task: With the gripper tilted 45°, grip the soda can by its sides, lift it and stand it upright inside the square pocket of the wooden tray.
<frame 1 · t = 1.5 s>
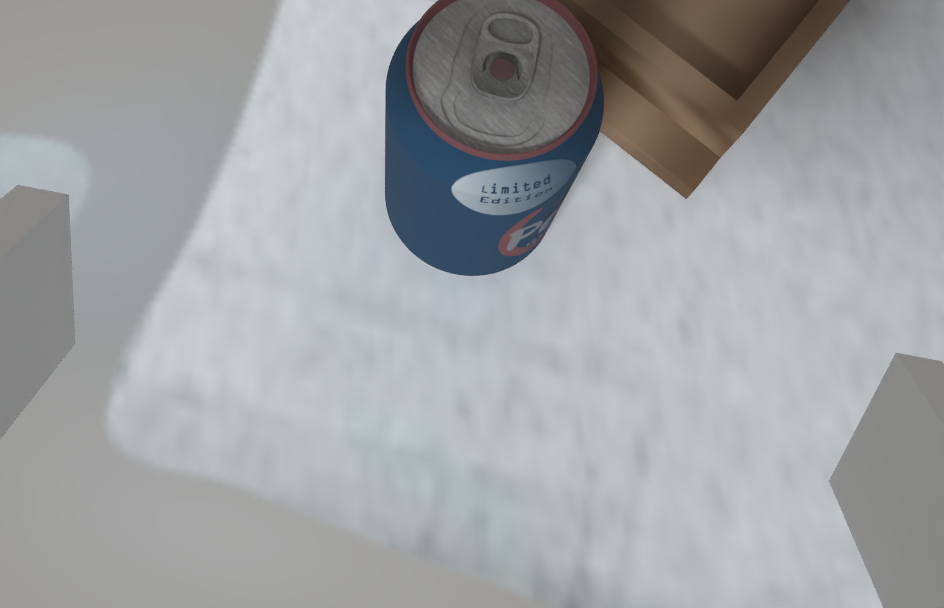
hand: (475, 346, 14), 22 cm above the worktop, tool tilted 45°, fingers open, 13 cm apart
soda can: (467, 206, 38), on the worktop
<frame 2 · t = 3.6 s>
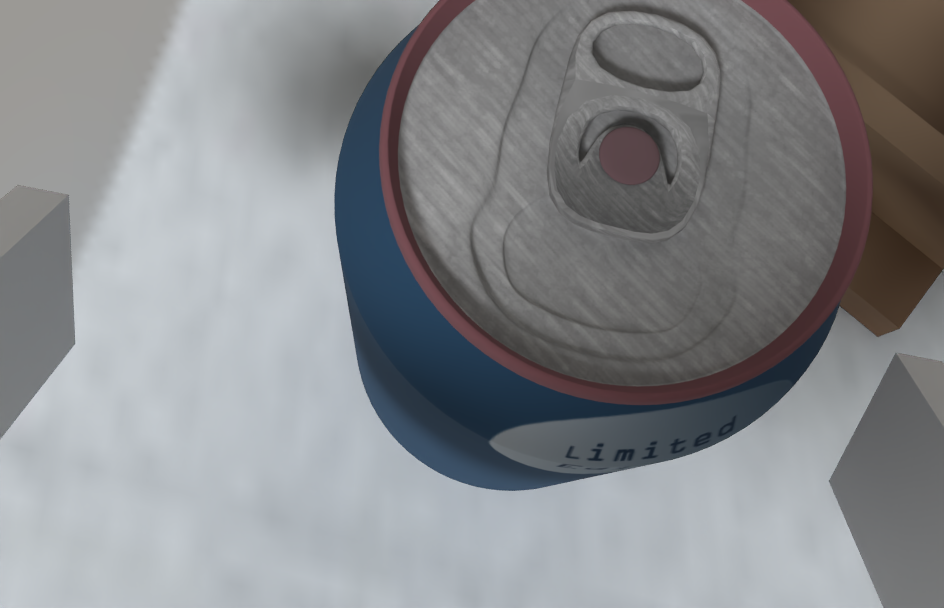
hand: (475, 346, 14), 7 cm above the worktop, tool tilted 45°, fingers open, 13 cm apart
soda can: (500, 347, 22), on the worktop
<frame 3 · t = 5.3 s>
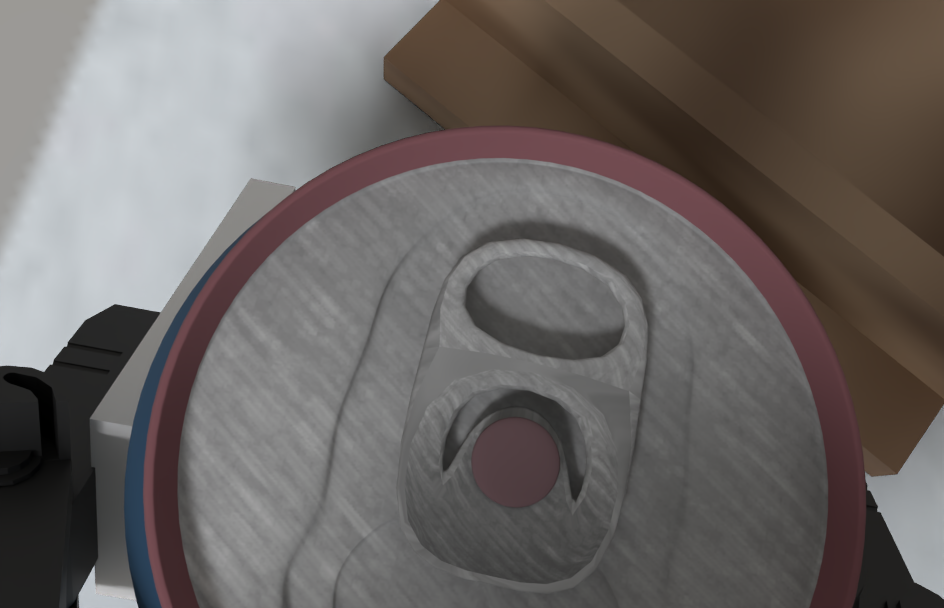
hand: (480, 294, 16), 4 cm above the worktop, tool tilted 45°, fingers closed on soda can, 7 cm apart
soda can: (432, 501, 19), on the worktop, touching gripper
wooden tray: (836, 9, 22), on the worktop
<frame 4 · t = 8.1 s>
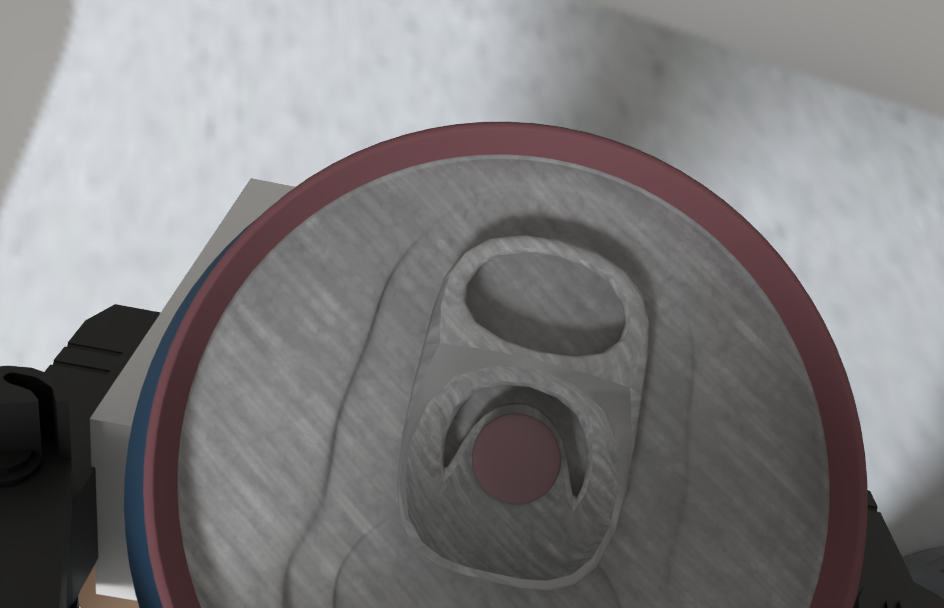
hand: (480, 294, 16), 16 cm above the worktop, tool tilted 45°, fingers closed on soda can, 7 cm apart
soda can: (433, 500, 19), point 12 cm above the worktop, touching gripper
wooden tray: (411, 505, 31), on the worktop
when the fingers open (6 cm above the worktop, at t = 10.7 s): soda can drops 1 cm, resting on wooden tray.
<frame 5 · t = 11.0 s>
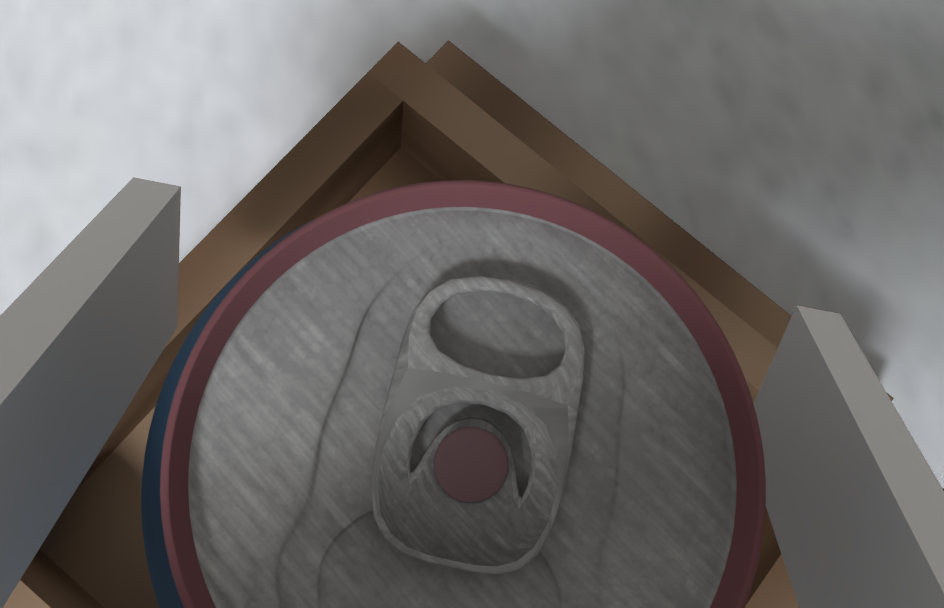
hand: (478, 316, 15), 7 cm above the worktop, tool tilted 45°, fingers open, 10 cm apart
soda can: (420, 504, 20), point 1 cm above the worktop, touching wooden tray
wooden tray: (427, 503, 21), on the worktop
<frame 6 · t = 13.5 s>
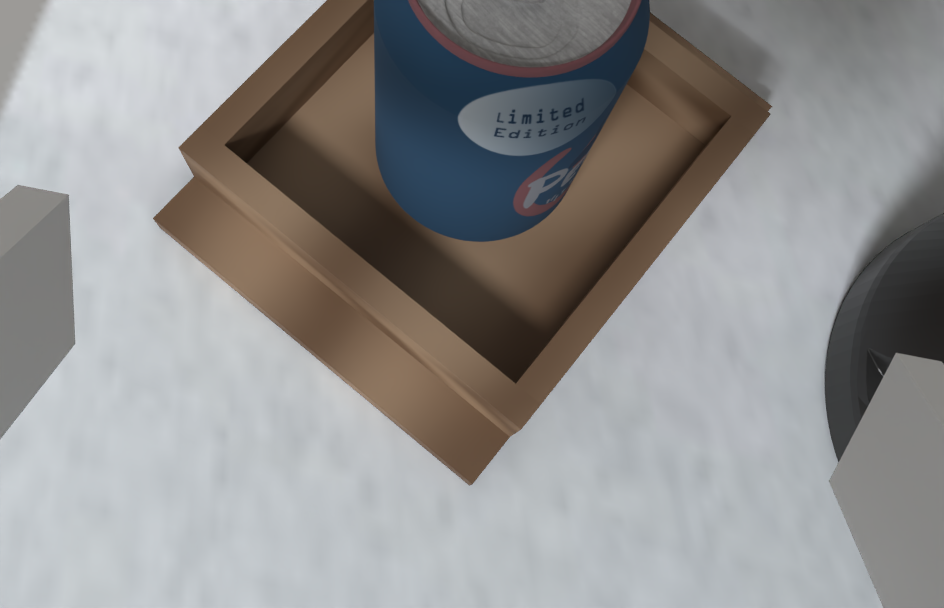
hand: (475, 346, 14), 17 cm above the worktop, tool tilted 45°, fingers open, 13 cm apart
soda can: (472, 162, 32), point 1 cm above the worktop, touching wooden tray
wooden tray: (475, 169, 33), on the worktop
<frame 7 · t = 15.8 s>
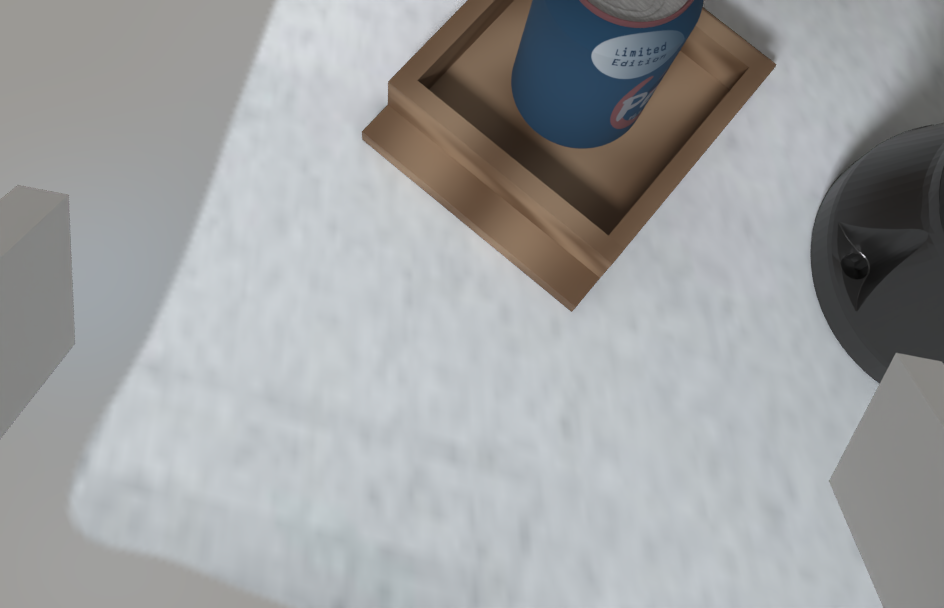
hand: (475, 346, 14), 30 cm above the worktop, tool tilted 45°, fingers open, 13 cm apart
soda can: (572, 99, 48), point 1 cm above the worktop, touching wooden tray
wooden tray: (572, 105, 48), on the worktop
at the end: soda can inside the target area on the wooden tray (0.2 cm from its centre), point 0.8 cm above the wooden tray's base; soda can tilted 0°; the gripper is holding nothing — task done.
